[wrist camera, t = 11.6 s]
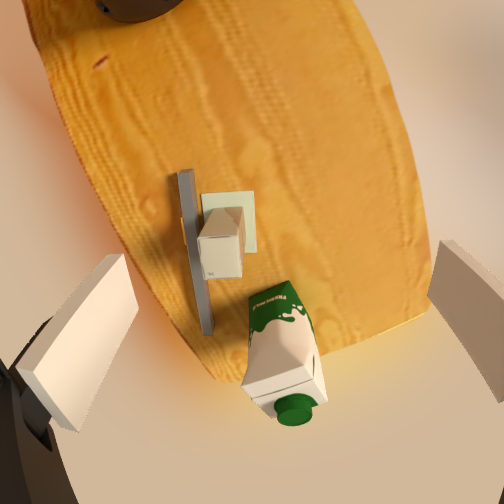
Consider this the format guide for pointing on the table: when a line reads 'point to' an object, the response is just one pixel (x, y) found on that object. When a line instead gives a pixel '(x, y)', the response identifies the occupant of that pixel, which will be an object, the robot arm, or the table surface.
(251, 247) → the pad
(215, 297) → the table surface
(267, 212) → the table surface
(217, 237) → the box
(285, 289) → the fresh milk carton
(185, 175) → the rail
